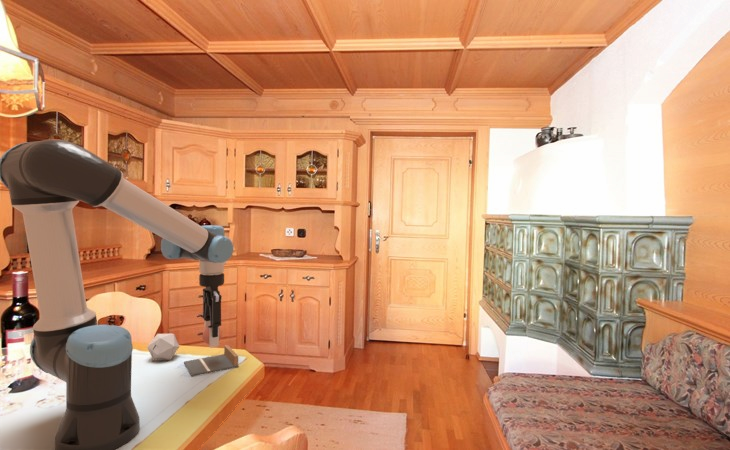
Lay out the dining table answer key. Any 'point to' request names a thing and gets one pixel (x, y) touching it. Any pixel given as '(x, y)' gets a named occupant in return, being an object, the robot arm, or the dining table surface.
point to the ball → (206, 335)
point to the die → (163, 346)
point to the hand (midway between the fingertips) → (211, 343)
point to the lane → (213, 363)
